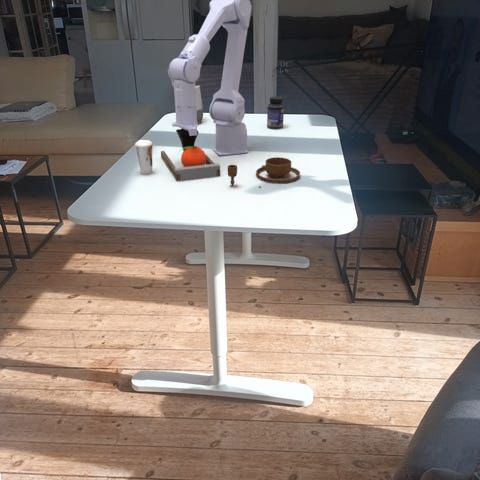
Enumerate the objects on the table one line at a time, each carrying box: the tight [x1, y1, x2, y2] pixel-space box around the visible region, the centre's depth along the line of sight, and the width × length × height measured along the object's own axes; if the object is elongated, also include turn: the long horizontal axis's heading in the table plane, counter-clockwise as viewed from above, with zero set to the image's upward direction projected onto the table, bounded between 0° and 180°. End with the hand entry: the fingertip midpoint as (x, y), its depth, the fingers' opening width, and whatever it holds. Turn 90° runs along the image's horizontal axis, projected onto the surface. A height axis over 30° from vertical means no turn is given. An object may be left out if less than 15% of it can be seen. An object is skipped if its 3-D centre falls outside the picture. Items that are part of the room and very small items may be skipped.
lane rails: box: [160, 150, 221, 182], centre depth 127 cm, size 12×22×2 cm, turn 20°
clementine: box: [177, 145, 207, 167], centre depth 123 cm, size 8×7×7 cm
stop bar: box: [174, 163, 221, 182], centre depth 119 cm, size 12×2×3 cm, turn 110°
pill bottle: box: [266, 96, 285, 130], centre depth 166 cm, size 6×6×11 cm
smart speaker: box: [196, 85, 204, 125], centre depth 172 cm, size 10×9×14 cm
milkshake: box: [134, 133, 154, 175], centre depth 121 cm, size 4×5×10 cm
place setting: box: [227, 156, 301, 189], centre depth 119 cm, size 18×20×6 cm
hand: (188, 154), depth 126 cm, fingers closed
